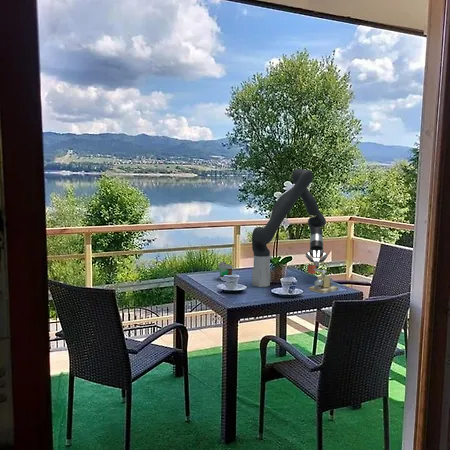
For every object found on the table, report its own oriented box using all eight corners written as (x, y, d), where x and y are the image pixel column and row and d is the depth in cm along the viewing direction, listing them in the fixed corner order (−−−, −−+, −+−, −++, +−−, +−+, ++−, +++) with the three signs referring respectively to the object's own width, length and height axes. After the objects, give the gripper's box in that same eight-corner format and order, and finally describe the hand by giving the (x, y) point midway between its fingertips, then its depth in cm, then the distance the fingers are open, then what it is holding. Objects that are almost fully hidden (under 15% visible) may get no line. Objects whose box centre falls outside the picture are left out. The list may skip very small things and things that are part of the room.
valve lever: (327, 276, 260) (327, 267, 259) (324, 276, 258) (324, 268, 258) (310, 272, 269) (311, 264, 268) (307, 273, 267) (307, 265, 267)
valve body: (319, 289, 255) (319, 278, 255) (313, 288, 259) (313, 277, 258) (333, 286, 263) (333, 275, 262) (327, 284, 266) (327, 274, 266)
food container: (215, 278, 290) (215, 262, 289) (225, 277, 292) (225, 261, 291) (222, 282, 278) (222, 265, 277) (232, 281, 280) (232, 265, 279)
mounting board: (323, 293, 253) (323, 290, 253) (308, 290, 261) (308, 287, 260) (338, 289, 261) (338, 287, 261) (323, 286, 269) (323, 283, 269)
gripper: (305, 239, 279) (304, 263, 268) (328, 239, 276) (328, 264, 266) (305, 246, 284) (304, 271, 274) (327, 247, 282) (327, 272, 271)
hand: (316, 267), depth 270 cm, fingers closed
